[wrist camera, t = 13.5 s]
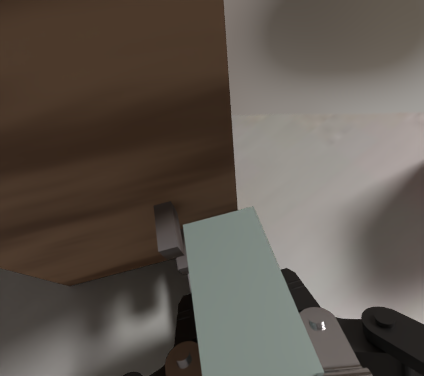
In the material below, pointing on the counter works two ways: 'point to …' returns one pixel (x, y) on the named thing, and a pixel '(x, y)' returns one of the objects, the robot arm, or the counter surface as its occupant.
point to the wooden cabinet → (110, 133)
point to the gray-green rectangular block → (243, 301)
